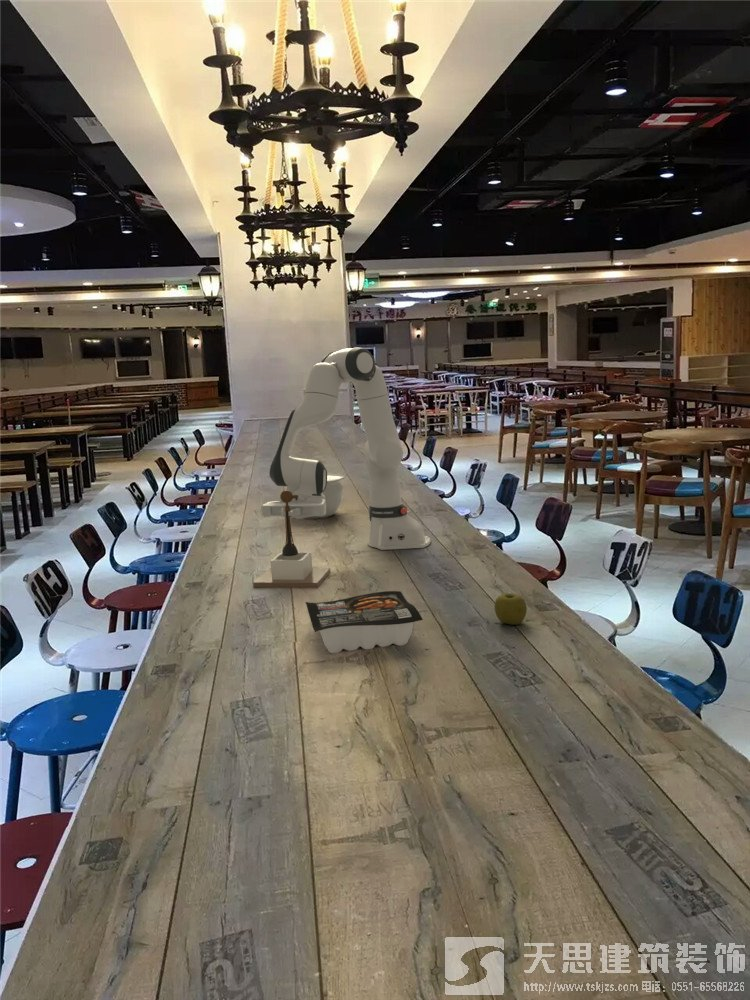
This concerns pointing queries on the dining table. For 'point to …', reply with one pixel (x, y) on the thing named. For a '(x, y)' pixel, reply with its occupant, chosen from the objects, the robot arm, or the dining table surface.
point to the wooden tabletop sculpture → (288, 525)
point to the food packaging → (364, 621)
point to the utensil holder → (292, 572)
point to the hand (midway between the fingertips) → (287, 514)
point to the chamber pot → (329, 493)
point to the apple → (510, 608)
